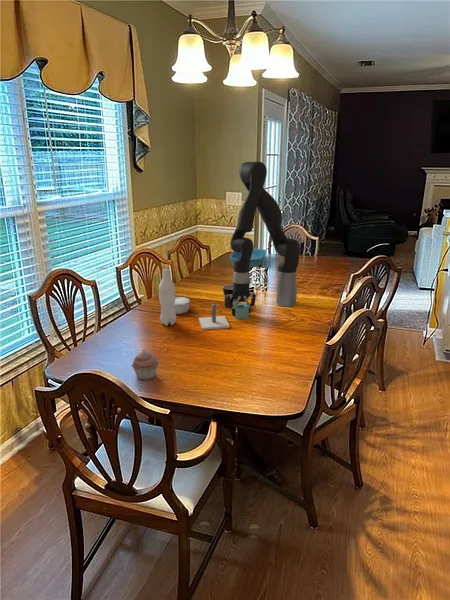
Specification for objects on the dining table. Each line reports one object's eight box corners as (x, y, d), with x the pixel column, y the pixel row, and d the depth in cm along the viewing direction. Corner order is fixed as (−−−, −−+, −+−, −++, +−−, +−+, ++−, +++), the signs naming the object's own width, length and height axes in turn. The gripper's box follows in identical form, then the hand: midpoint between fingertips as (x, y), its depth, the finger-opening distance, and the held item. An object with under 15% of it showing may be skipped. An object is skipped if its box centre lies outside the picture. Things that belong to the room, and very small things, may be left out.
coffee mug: (238, 309, 217) (238, 290, 214) (221, 308, 219) (221, 288, 216) (242, 301, 228) (242, 283, 225) (225, 300, 230) (225, 282, 227)
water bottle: (179, 321, 202) (177, 268, 194) (172, 327, 196) (170, 272, 188) (164, 319, 205) (162, 267, 196) (157, 325, 198) (154, 271, 190)
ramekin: (177, 305, 224) (177, 295, 222) (194, 309, 217) (194, 299, 216) (162, 311, 215) (161, 301, 213) (179, 316, 209) (179, 306, 207)
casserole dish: (236, 256, 323) (236, 246, 321) (267, 257, 319) (267, 247, 317) (226, 269, 289) (227, 258, 287) (261, 271, 285) (261, 260, 282)
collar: (245, 313, 212) (245, 303, 211) (248, 318, 207) (248, 308, 205) (233, 314, 211) (233, 304, 210) (235, 318, 206) (236, 308, 204)
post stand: (224, 318, 207) (224, 299, 204) (229, 327, 196) (229, 308, 193) (198, 319, 205) (198, 301, 202) (202, 329, 193) (202, 310, 190)
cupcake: (139, 368, 160) (138, 342, 157) (163, 372, 158) (162, 346, 154) (127, 380, 152) (125, 354, 148) (152, 384, 149) (150, 357, 146)
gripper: (254, 277, 208) (253, 311, 214) (224, 279, 206) (224, 313, 211) (258, 282, 201) (257, 316, 207) (227, 283, 199) (227, 319, 204)
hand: (240, 314), depth 209 cm, fingers closed on collar, 6 cm apart
